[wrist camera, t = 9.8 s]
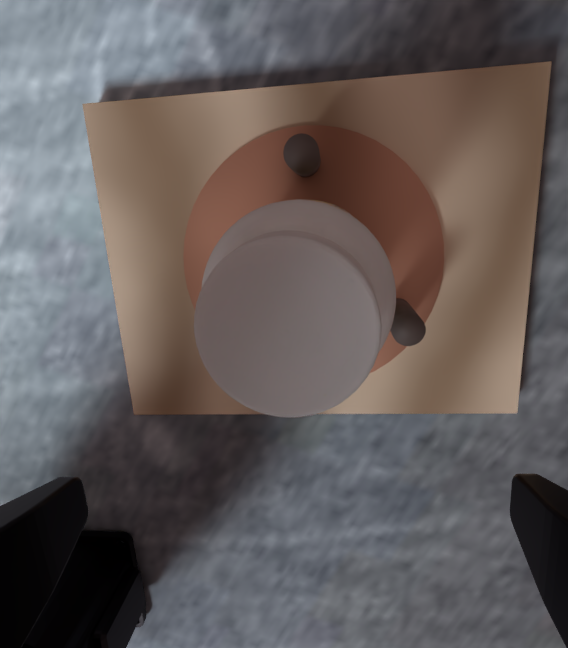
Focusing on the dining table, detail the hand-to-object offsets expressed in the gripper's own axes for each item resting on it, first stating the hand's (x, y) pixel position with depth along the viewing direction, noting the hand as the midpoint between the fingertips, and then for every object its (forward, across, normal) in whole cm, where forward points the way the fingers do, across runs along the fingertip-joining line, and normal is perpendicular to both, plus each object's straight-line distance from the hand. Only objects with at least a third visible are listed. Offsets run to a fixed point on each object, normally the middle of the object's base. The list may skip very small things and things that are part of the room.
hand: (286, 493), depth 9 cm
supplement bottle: (+11, 0, -3) cm, 11 cm away
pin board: (+12, 0, -3) cm, 12 cm away
